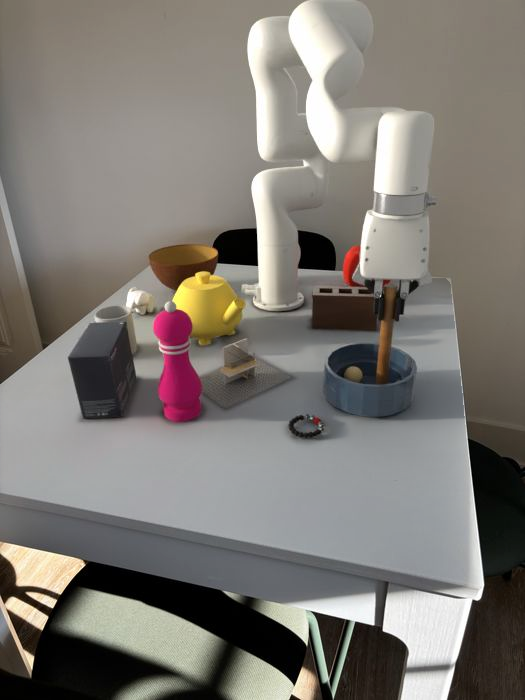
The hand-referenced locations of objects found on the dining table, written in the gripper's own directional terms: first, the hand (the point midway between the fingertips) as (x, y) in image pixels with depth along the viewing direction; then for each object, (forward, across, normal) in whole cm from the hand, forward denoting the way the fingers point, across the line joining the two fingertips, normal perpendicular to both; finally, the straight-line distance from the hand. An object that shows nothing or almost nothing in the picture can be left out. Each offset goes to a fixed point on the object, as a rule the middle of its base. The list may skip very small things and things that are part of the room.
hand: (387, 317), depth 85 cm
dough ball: (+14, +5, -1) cm, 15 cm away
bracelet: (+15, +12, +12) cm, 23 cm away
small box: (+15, +47, +6) cm, 50 cm away
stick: (+13, 0, 0) cm, 13 cm away
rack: (+15, +6, -28) cm, 32 cm away
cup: (+15, +53, -10) cm, 56 cm away
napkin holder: (+15, +25, -2) cm, 29 cm away
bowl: (+15, +47, -46) cm, 68 cm away
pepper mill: (+15, +33, +9) cm, 37 cm away
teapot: (+15, +34, -20) cm, 42 cm away
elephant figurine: (+15, +54, -31) cm, 64 cm away
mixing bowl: (+14, +2, +1) cm, 15 cm away
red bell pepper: (+15, 0, -52) cm, 54 cm away
